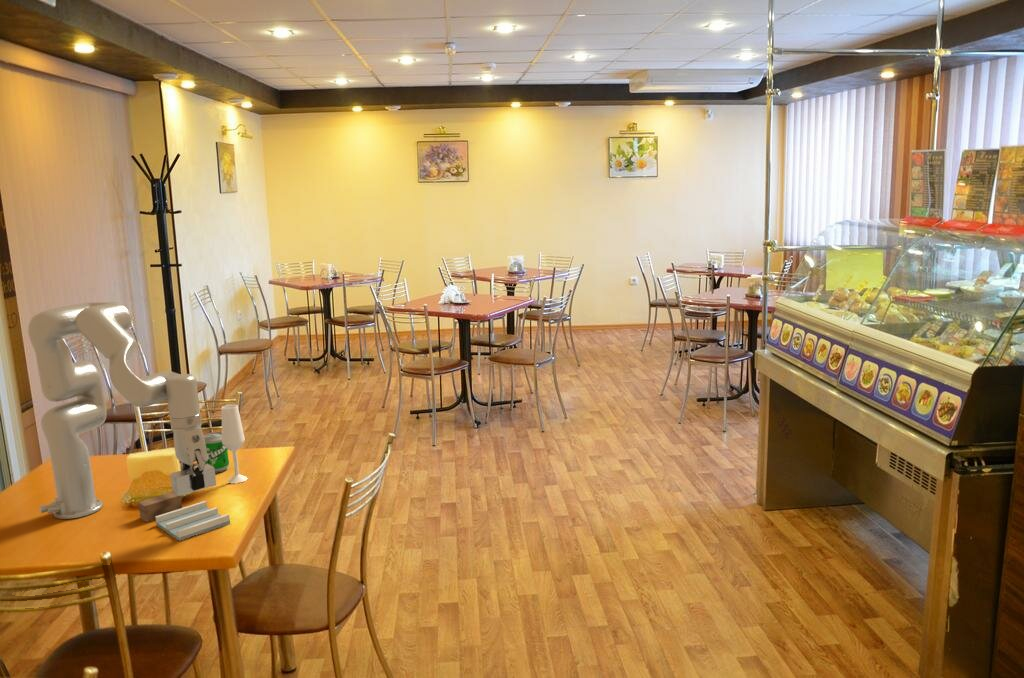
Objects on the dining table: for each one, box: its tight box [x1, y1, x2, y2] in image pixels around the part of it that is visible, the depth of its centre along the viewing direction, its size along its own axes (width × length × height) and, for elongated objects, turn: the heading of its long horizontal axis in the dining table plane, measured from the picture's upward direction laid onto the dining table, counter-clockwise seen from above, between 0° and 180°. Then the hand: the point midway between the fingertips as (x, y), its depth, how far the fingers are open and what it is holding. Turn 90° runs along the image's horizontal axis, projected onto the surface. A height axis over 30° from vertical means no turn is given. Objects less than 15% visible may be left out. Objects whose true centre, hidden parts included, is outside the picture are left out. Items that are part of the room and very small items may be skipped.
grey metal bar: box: [169, 464, 217, 496], centre depth 213 cm, size 10×5×5 cm, turn 131°
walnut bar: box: [137, 491, 183, 523], centre depth 225 cm, size 10×5×5 cm, turn 135°
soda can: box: [203, 431, 230, 474], centre depth 258 cm, size 8×8×12 cm
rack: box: [155, 500, 231, 542], centre depth 218 cm, size 14×15×3 cm
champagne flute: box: [221, 404, 249, 483], centre depth 247 cm, size 7×7×24 cm
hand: (194, 485), depth 213 cm, fingers closed on grey metal bar, 4 cm apart
